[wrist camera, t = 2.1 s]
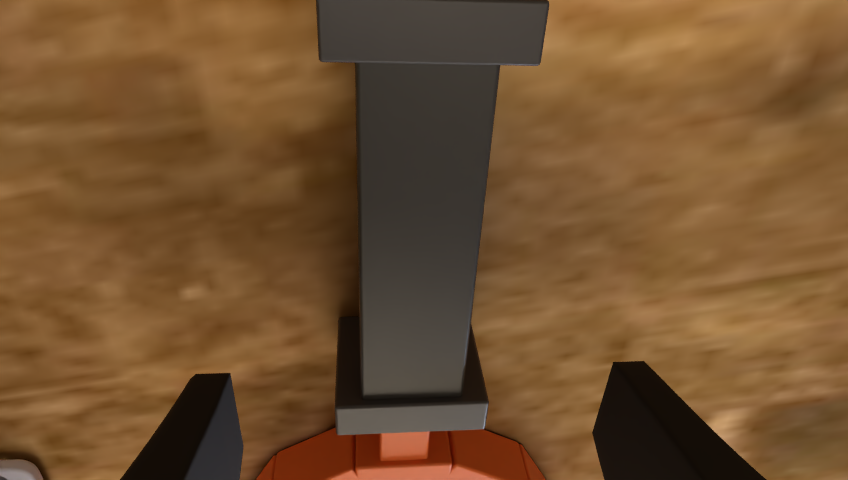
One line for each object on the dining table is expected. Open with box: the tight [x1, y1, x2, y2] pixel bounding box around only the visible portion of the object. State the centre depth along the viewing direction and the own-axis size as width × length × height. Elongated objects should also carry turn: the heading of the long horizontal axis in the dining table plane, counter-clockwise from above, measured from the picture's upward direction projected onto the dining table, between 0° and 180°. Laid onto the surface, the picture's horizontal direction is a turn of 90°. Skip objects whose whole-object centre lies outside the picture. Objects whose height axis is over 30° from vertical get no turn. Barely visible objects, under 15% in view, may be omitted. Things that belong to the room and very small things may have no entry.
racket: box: [256, 0, 549, 480], centre depth 17 cm, size 11×24×3 cm, turn 177°
